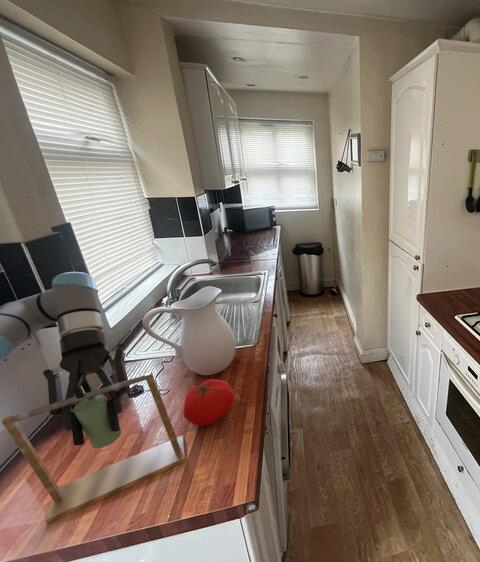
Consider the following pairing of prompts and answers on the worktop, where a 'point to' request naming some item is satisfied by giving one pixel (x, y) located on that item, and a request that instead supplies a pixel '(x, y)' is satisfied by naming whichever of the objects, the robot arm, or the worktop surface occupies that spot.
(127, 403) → the worktop surface
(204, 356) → the pitcher
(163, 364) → the worktop surface
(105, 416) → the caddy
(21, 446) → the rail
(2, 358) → the robot arm
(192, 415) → the tomato
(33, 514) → the worktop surface
